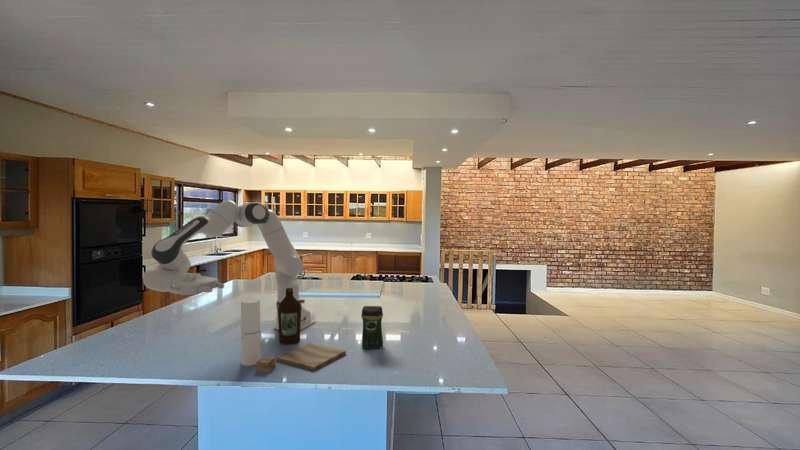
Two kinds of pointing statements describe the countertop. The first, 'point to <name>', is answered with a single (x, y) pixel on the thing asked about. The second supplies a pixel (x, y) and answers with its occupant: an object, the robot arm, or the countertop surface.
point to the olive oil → (289, 319)
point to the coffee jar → (372, 327)
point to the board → (311, 356)
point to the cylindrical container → (250, 331)
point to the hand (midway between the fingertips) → (217, 288)
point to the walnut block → (266, 364)
